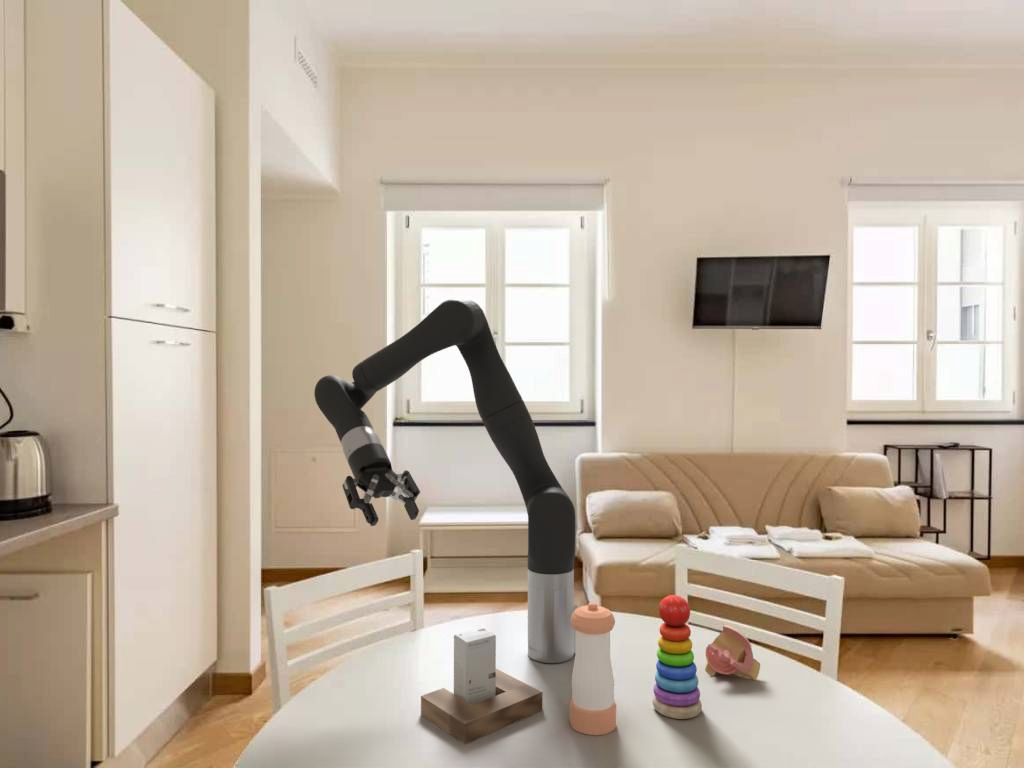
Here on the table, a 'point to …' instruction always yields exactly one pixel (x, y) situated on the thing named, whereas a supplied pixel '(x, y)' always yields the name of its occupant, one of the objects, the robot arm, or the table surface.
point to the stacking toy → (676, 663)
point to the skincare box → (475, 665)
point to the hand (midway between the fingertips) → (395, 520)
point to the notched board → (482, 708)
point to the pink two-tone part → (731, 655)
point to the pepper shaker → (592, 672)
